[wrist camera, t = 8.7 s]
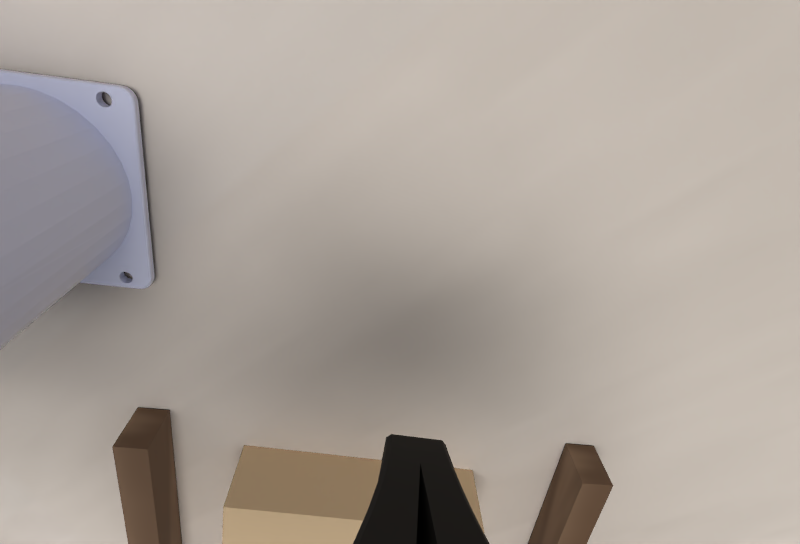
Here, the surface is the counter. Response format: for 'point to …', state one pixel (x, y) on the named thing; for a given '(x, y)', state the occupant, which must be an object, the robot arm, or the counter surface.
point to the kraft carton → (305, 497)
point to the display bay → (158, 502)
